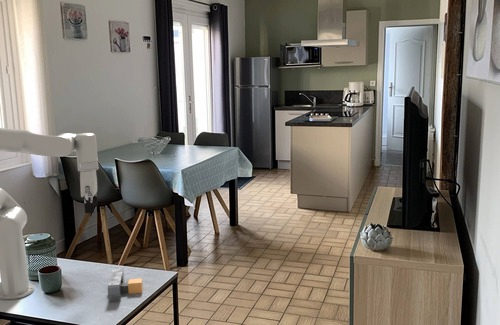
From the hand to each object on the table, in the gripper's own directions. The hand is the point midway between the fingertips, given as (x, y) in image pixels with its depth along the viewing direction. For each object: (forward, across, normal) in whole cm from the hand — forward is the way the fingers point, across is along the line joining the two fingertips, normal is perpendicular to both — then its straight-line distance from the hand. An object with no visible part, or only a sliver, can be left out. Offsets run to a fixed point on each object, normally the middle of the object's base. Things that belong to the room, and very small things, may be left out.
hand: (91, 209), depth 193 cm
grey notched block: (+30, +10, +8) cm, 33 cm away
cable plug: (+30, +10, +12) cm, 34 cm away
